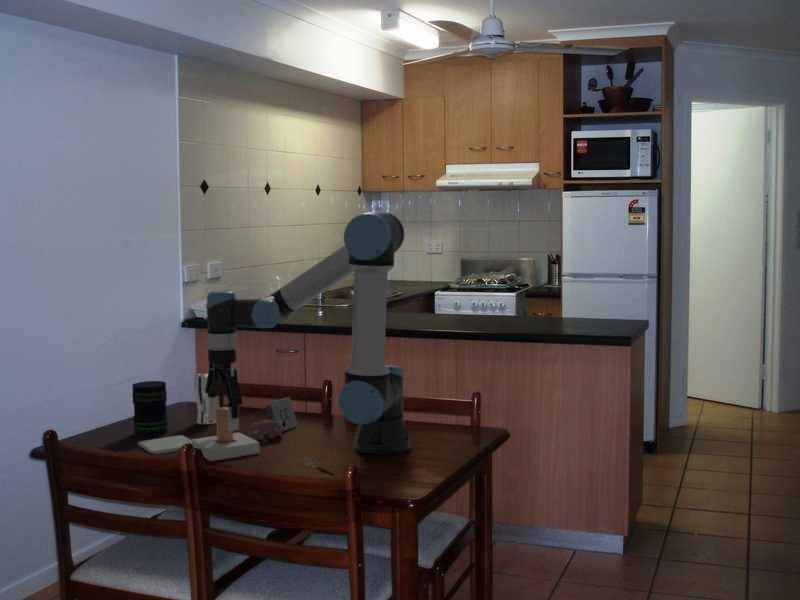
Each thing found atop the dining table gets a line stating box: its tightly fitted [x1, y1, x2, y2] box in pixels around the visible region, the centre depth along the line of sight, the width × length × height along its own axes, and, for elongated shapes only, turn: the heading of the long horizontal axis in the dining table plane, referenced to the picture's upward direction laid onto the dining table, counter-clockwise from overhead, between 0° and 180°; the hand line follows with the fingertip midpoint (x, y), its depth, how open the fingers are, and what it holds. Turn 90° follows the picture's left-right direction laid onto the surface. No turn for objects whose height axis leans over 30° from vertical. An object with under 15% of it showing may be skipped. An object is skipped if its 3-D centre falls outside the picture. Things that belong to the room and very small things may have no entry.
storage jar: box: [131, 380, 169, 439], centre depth 278 cm, size 10×10×15 cm
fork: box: [300, 455, 336, 476], centre depth 238 cm, size 3×16×2 cm, turn 34°
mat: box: [137, 434, 192, 455], centre depth 263 cm, size 13×13×1 cm
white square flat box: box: [191, 432, 261, 462], centre depth 256 cm, size 14×14×3 cm
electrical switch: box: [264, 396, 298, 433], centre depth 282 cm, size 9×5×9 cm, turn 152°
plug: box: [215, 406, 234, 444], centre depth 256 cm, size 4×4×12 cm
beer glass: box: [193, 372, 218, 425], centre depth 291 cm, size 7×7×15 cm
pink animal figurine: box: [247, 419, 284, 441], centre depth 270 cm, size 10×5×7 cm, turn 106°
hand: (223, 425), depth 256 cm, fingers open, 13 cm apart
